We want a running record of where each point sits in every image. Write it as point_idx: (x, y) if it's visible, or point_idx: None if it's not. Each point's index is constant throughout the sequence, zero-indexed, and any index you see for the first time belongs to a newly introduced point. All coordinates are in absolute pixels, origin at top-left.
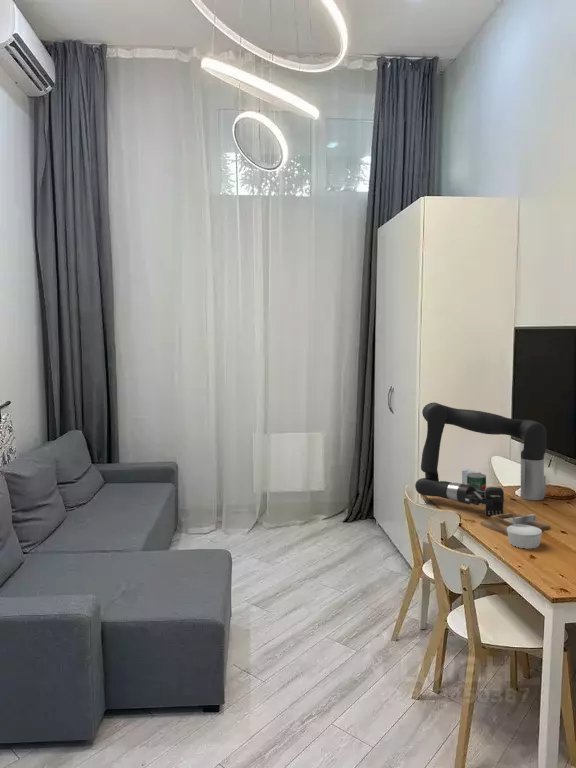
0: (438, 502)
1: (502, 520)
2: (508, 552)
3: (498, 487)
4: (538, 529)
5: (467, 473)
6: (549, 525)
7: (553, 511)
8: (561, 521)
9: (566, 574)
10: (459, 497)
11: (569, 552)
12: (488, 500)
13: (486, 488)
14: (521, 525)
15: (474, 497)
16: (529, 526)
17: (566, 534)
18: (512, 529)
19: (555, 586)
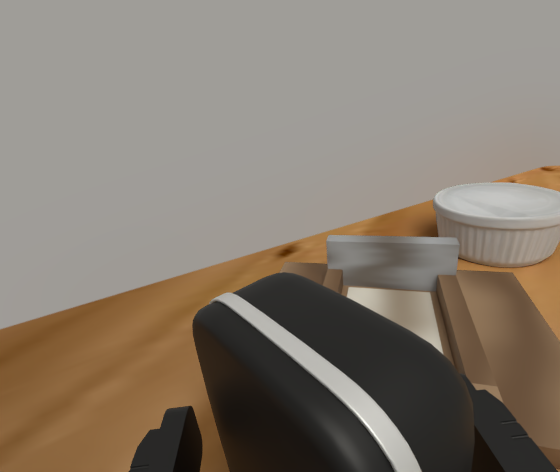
0: None
1: (472, 320)
2: None
3: (248, 301)
4: (442, 195)
5: None
6: (287, 262)
7: (26, 356)
8: (178, 288)
9: (499, 181)
10: None
11: (406, 207)
12: (483, 410)
13: (410, 442)
14: (474, 216)
15: None
16: (449, 209)
17: (299, 243)
18: (551, 202)
19: (555, 172)
